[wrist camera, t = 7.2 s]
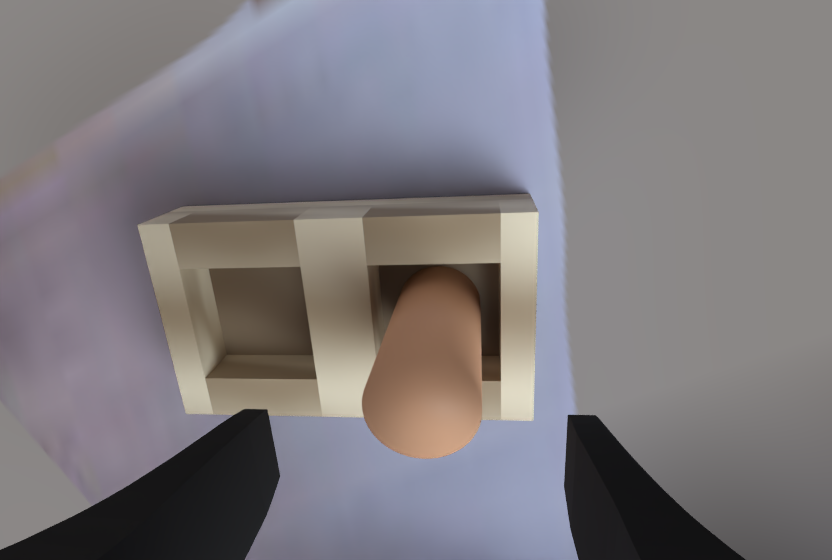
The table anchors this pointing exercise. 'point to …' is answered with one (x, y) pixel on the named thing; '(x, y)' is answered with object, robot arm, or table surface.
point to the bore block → (334, 296)
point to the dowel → (428, 368)
